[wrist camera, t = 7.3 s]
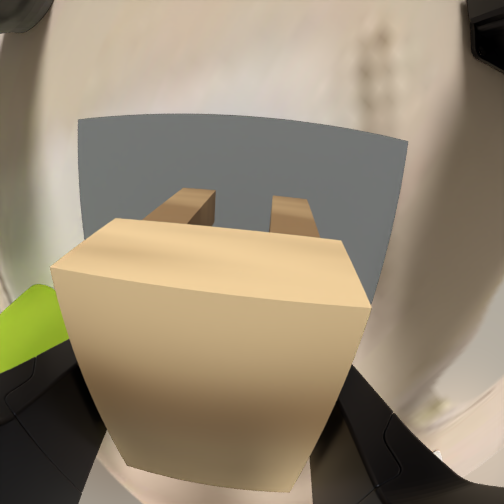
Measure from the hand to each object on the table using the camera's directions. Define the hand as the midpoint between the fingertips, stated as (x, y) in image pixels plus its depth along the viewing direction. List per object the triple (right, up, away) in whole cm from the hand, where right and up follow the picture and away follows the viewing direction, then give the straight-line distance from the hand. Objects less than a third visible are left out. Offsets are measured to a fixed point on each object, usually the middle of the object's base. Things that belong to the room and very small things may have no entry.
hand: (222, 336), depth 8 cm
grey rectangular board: (0, +3, +7) cm, 8 cm away
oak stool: (0, +2, +3) cm, 4 cm away
